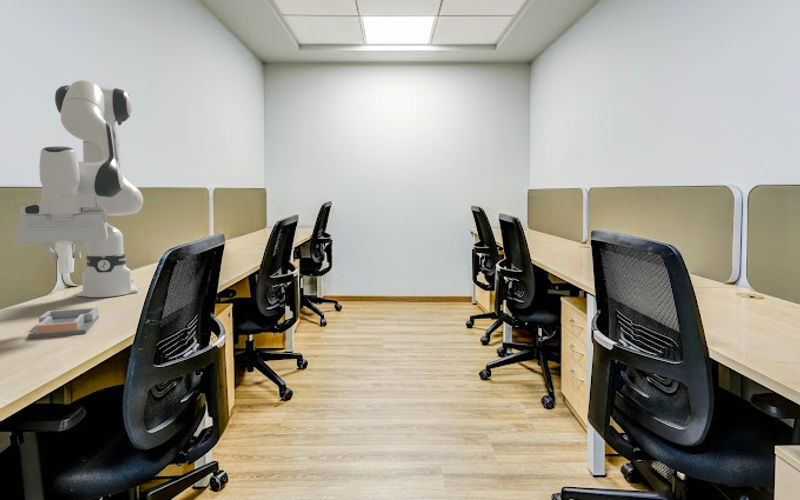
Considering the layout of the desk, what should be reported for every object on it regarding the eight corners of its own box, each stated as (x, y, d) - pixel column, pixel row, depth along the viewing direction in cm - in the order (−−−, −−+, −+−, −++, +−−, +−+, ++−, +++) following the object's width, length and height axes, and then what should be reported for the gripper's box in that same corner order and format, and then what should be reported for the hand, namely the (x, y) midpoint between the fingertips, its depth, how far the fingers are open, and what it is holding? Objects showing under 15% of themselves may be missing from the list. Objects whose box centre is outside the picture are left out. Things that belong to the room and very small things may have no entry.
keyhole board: (48, 321, 136) (47, 311, 135) (98, 317, 140) (97, 307, 140) (28, 338, 119) (27, 326, 119) (85, 333, 124) (85, 321, 124)
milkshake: (83, 271, 134) (81, 235, 133) (64, 274, 129) (61, 236, 128) (71, 270, 136) (69, 234, 135) (52, 273, 131) (49, 235, 130)
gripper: (108, 207, 138) (111, 255, 139) (20, 207, 130) (24, 259, 131) (105, 207, 132) (108, 258, 133) (12, 208, 124) (16, 262, 125)
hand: (65, 258), depth 132 cm, fingers closed on milkshake, 4 cm apart
